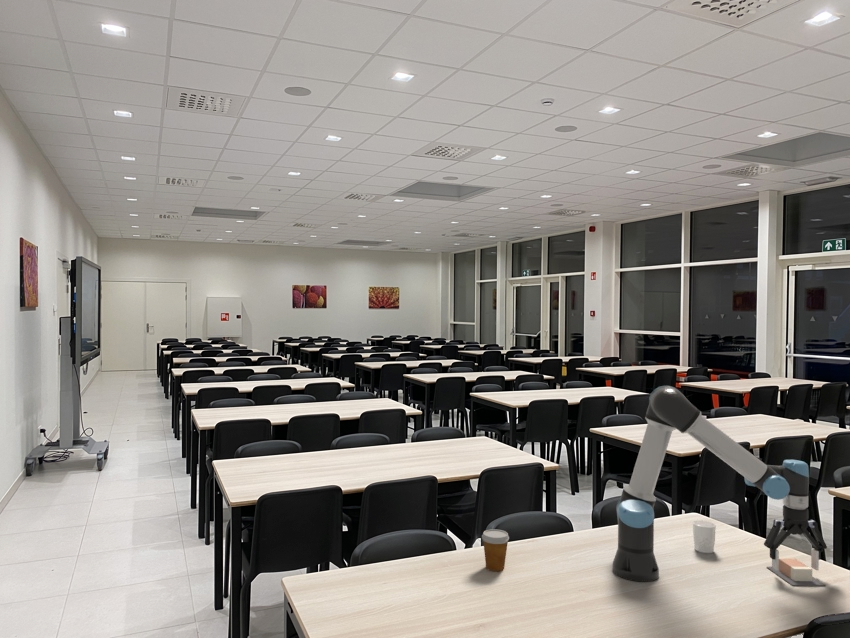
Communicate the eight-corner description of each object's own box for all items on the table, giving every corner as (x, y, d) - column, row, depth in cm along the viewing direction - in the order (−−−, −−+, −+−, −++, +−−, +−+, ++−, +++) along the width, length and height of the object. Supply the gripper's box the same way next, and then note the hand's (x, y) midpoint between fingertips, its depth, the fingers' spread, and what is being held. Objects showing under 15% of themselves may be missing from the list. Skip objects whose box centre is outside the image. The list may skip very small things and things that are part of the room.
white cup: (719, 554, 228) (719, 527, 228) (698, 553, 228) (698, 527, 228) (709, 546, 236) (710, 520, 236) (689, 546, 236) (689, 520, 236)
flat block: (778, 570, 213) (778, 558, 213) (795, 570, 213) (795, 558, 213) (794, 581, 204) (794, 569, 204) (812, 581, 204) (812, 569, 204)
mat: (792, 585, 201) (792, 584, 201) (766, 567, 216) (766, 566, 216) (825, 586, 201) (825, 585, 201) (797, 568, 216) (797, 566, 216)
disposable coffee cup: (508, 563, 217) (508, 529, 217) (509, 574, 208) (509, 538, 208) (481, 561, 218) (481, 528, 218) (481, 572, 208) (481, 537, 209)
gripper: (765, 509, 205) (764, 572, 205) (839, 510, 205) (838, 573, 205) (753, 502, 212) (752, 563, 212) (824, 503, 212) (824, 564, 212)
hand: (795, 568), depth 208 cm, fingers open, 13 cm apart
